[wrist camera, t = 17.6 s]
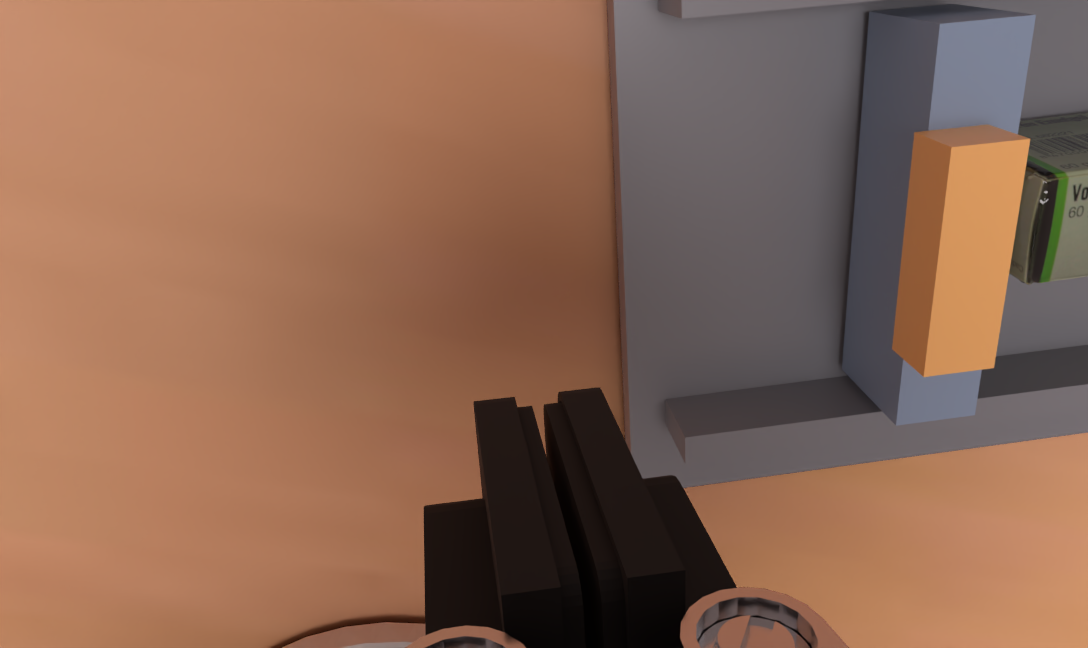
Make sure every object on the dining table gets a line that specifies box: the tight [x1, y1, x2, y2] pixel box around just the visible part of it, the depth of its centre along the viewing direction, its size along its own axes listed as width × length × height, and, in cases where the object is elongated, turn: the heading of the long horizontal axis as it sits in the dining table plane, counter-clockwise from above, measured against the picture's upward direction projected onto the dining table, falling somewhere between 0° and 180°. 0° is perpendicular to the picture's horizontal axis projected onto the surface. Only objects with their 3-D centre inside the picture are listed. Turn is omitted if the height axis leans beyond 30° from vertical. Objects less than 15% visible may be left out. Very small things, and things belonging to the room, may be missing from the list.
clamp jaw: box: [842, 4, 1036, 426], centre depth 20 cm, size 9×2×4 cm, turn 4°
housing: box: [607, 0, 1088, 488], centre depth 22 cm, size 16×22×3 cm
